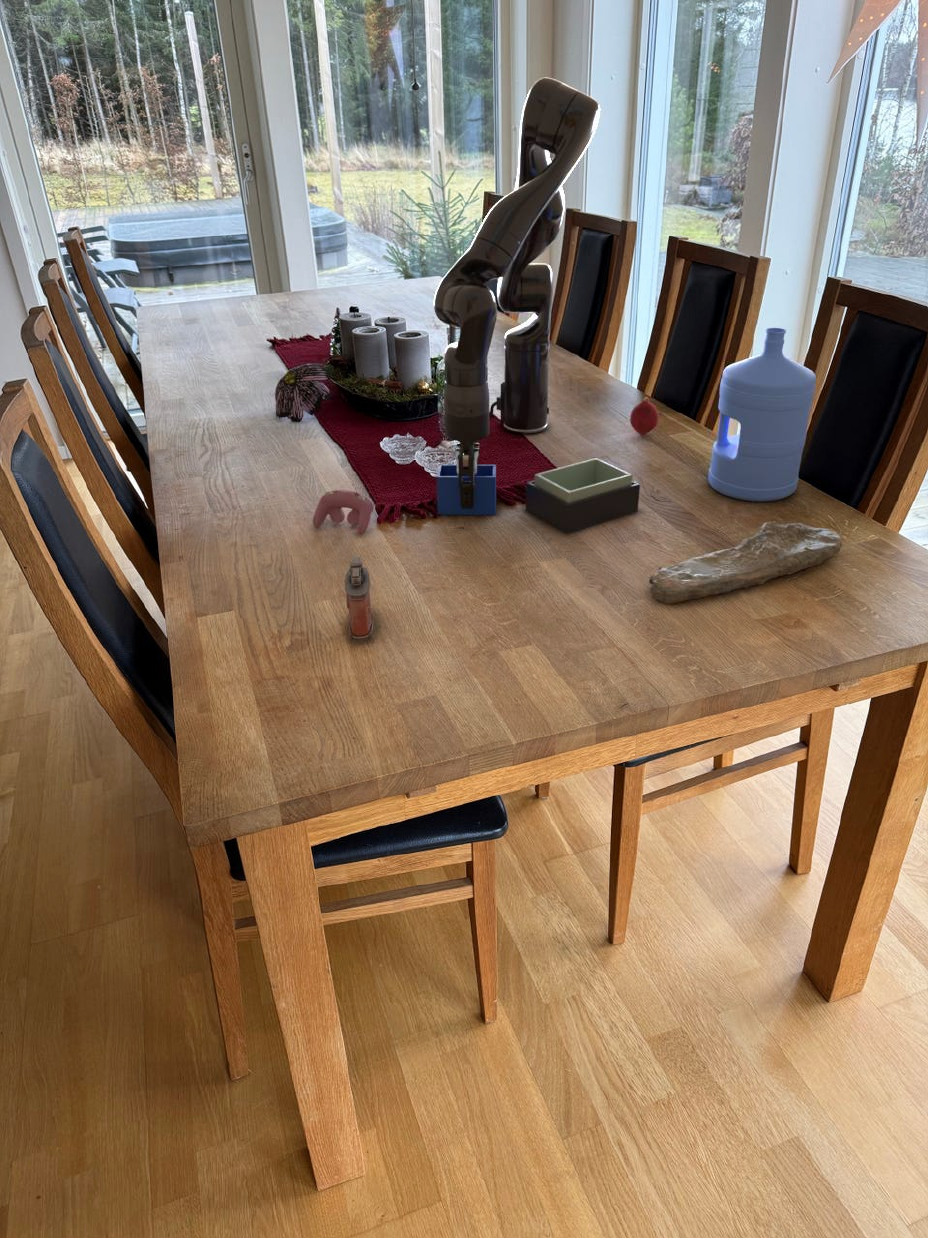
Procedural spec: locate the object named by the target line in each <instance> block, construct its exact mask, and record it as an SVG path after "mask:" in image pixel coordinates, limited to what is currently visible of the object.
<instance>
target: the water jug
mask: <svg viewBox="0 0 928 1238" xmlns="http://www.w3.org/2000/svg"><path fill="white" fill-rule="evenodd" d="M765 333H766V335H765V338H764V342H763V344H764V345H763V350H762V352H761V353H760V354H757V355H754V356H751V357H749V358H745V359H742V360H740V361H737V362H733V363H731V364H729V365H728V366H725V367H724V369H723V372H722V377H721V380H720V383H719V385H720V386H719V399H718V405H717V406H718V411H719V412H720V413H719V419H718V428H717V436H716V440H715V442H714V443H713V445H712V453H711V458H710V459H711V460H710V466H709V469H708V474H707V475H708V476H707V479H708V483H709V485H710V486H711V488H712V489H713V490H715V491H716V492H718V493H720V494H722V495H724V496H726V497H729V498H733V499H736V500H741V501H747V502H773V501H779V500H782V499H785V498H787V497H789V496H791V495H793V493H794V492H795V491H796V489H797V488H798V483H799V474H800V473H799V472H800V467H801V461H802V458H803V457H802V456H803V452H804V448H805V445H806V440H807V430H808V424H809V419H810V413H811V410H812V409H811V408H812V403H813V401H814V397H815V392H816V381H817V377H816V374H815V373H814V371H813V370H811V369H809V368H808V367H806V366H805V365H802V364H801V363H799V362H796V361H795V360H793V359H792V358H789V357H787V356H785V355H784V353H783V348H784V344H785V334H786V333H787V329H785V328H781V327H768V328H766V329H765ZM731 419H732V420H734V421H737V422H738V423H739V426H740V429H739V434H733V435H728V433H729V428H730V427H729V426H730V420H731Z"/></svg>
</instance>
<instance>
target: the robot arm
mask: <svg viewBox="0 0 928 1238" xmlns="http://www.w3.org/2000/svg"><path fill="white" fill-rule="evenodd" d="M600 111H601V108H600V104H599V102H598V101H597V99H595V98H593V97H592V96H590V95H588V94H586V93H584V92H582V91H581V90H578V89H576V88H574V87H572V86H570V85H568V84H566V83H564V82H562V81H559V80H558V79H555V78H552V77H551V78H550V77H546V76H545V77H541V78H539V79H538V80H536V81H535V82H534V84H533V85H532V86H531V88H530V90H529V92H528V94H527V97H526V100H525V102H524V105H523V109H522V114H521V119H520V125H519V145H518V164H517V165H518V166H517V174H516V180H515V186H514V190H513V191H511V192H510V193H508V194H507V195H505V196H504V197H502V198H501V199H499V200H498V202H496V203H495V204H494V205H493V206H492V208H491V209H490V210H489V211H488V213H487V215H486V216H485V218H484V219H483V222H482V223H481V225H480V226H479V229H478V231H477V232H476V235H475V237H474V239H473V240H472V242H471V245H470V247H469V248H468V249H467V250H466V251H465V252H464V254H463V255H461V257H460V258H459V259H458V260H457V261H456V262H455V263H454V265H453V266H452V267H451V268H450V269H449V270H448V272H447V273H446V274H445V275H444V277H443V278H442V279H441V280H440V282H439V284H438V287H437V289H436V291H435V294H434V299H433V309H434V314H435V315H436V317H437V319H438V320H439V321H441V322H442V323H444V324H445V325H448V326H451V327H455V328H458V329H459V337H458V340H457V341H454V342H452V343H450V344H449V345H447V346H446V348H445V350H444V361H443V363H444V389H443V393H444V396H443V409H444V411H443V412H444V434H445V436H446V438H448V439H450V440H452V441H456V442H457V443H456V444H455V446H456V447H455V459H456V465H457V475H458V476H459V484H458V487H459V489H460V493H461V508H462V509H472V508H473V507H474V487H475V484H474V476H476V475H477V465H478V462H479V459H480V442H477V441H481V440H484V439H486V438H488V436H489V435H490V430H491V429H490V417H491V416H493V414H494V410H495V407H496V410H497V411H500V426H501V427H503V428H504V430H506V431H508V432H510V433H515V434H520V435H521V434H523V435H524V434H525V435H527V434H536V433H540V432H543V431H545V430H546V429H547V428H548V415H550V408H549V407H548V400H549V373H550V372H549V371H550V369H549V367H550V366H549V365H550V336H551V319H552V318H551V317H552V306H553V296H554V295H553V293H554V277H553V276H554V275H553V271H552V268H551V266H550V265H549V264H548V263H543V262H542V263H541V262H539V263H537V262H535V263H534V262H533V261H535V260H536V259H538V257H540V256H541V255H542V254H543V253H544V252H546V250H548V249H549V248H550V247H551V246H552V244H553V243H554V242H555V240H556V239H557V237H558V236H559V234H560V229H561V225H562V222H563V218H564V213H565V208H566V201H565V194H564V190H563V187H562V186H563V184H564V183H565V182H566V180H567V179H568V177H569V176H570V174H571V173H572V171H573V170H574V168H575V167H576V165H577V164H578V162H579V161H580V159H581V158H582V157H583V155H584V153H585V151H586V150H587V148H588V146H589V144H590V143H591V141H592V138H593V137H594V134H595V133H596V132H595V131H596V129H597V127H598V123H599V118H600V114H601V113H600ZM550 154H552V155H554V156H553V158H552V160H551V158H550ZM493 280H497V286H496V297H495V295H494V292H493V291H492V290H491V289H490V288H489V287H488V286H487V285H486V284H487V283H488V282H490V281H493ZM496 298H497V301H496ZM497 303H498V305H497ZM498 306H499V307H500V309H501V311H503V312H504V313H507V314H531V313H532V315H531V316H530V318H529V319H527V320H526V321H524V322H523V323H522V324H519V325H517V326H515V327H512V328H510V329H508V330H507V331H506V333H504V334H505V335H504V357H503V359H504V366H503V367H504V368H503V369H504V374H503V375H504V376H503V377H504V380H503V381H501V382H500V395H499V396H496V401H494V402H492V404H491V405H490V389H489V381H488V380H489V370H488V369H489V367H488V366H489V365H488V363H489V362H488V355H489V352H490V348H491V344H492V340H493V336H494V331H495V327H496V324H497V318H498ZM473 467H474V468H473ZM463 476H470V478H471V482H463Z"/></svg>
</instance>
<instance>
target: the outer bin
mask: <svg viewBox="0 0 928 1238" xmlns="http://www.w3.org/2000/svg"><path fill="white" fill-rule="evenodd" d="M640 489H641V483H638V482H637V481H634V480H632V485H630V486H626V487H623V488H620V489H616V490H613V491H609V492H606V493H602V494H599V495H596V496H592V497H589V498H585V499H582V500H578V501H575V502H572V503H566V502H564V501H563V500H561V499H559V498H557V497H555V496H554V495H552V494H550V493H548V492H546V491H545V490H543V489H541V488H539V487H537V486H536V485H534V480H530V481H527V482H526V483H525V511H526V512H528V513H530V514H532V515H533V516H535V517H537V518H538V519H540V520H541V521H543V522H545V523H547V524H549V525H550V526H552V527H553V528H555V529H557V530H558V531H561V532H562V533H564V534H566V535H567V534H570V533H574V532H578V531H580V530H585V529H588V528H590V527H593V526H596V525H601V524H603V523H606V522H610V521H613V520H616V519H619V518H623V517H626V516H629V515H633V514H636V513H638V512H639V501H640V491H641V490H640Z"/></svg>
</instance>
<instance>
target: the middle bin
mask: <svg viewBox="0 0 928 1238" xmlns="http://www.w3.org/2000/svg"><path fill="white" fill-rule="evenodd" d="M533 481H534V485H536V486H537V487H539V488H541V489H543V490H545V491H546V492H548V493H550V494H552V495H554V496H555V497H557V498H559V499H561V500H563V501H564V502H566V503H572V502H575V501H578V500H582V499H585V498H589V497H592V496H596V495H599V494H602V493H606V492H609V491H613V490H616V489H620V488H623V487H626V486H630V485H632V481H633V474H632V473H629V472H628V471H625V470H623V469H621V468H619V467H617V466H615V465H612V464H611V463H608V462H606V461H604V460H602V459H601V458H598V457H595V458H594V457H593V458H591V459H587V460H584V461H579V462H576V463H573V464H569V465H568V464H567V465H565V466H560V467H557V468H553V469H550V470H546V471H542V472H538V473H535V474H534V480H533Z"/></svg>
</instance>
